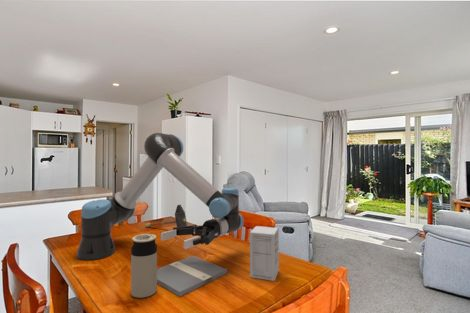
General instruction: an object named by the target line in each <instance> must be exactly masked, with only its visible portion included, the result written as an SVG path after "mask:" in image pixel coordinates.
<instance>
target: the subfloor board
mask: <svg viewBox="0 0 470 313" xmlns="http://www.w3.org/2000/svg"><path fill="white" fill-rule="evenodd" d="M226 274H228V269H227V268H225V267H223V266H220V265H217V264H215V263H213V262H210V261H207V260H205V259H203V258H200V257H198V256H196V255H195V256H194V255H192V256H189V257H186V258H182V259H181V260H178V261H175V262H172V263H170V264H167V265H164V266H161V267H157V285H159V286H161V287H162V288H164V289H166V290H168V291H169V292H171V293H172V294H174V295H176V296H178V297H183V296H185V295H186V294H189V293H191V292H193V291H194V290H196V289H198V288H200V287H202V286H204V285H207V284H209V283H210V282H212V281H215V280H217V279H218V278H221V277H222V276H225V275H226Z"/></svg>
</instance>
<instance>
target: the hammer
mask: <svg viewBox="0 0 470 313" xmlns="http://www.w3.org/2000/svg"><path fill="white" fill-rule="evenodd" d="M169 224H176V227H183V226H188V222H187V216H186V212H185V210H184V207H182V204H177V206H176V209H175V213H174V219H172V220H164V221H157V222H146V223H145V225H144V227H146V228H149V227H154V226H160V225H161V226H162V225H163V226H164V225H169Z"/></svg>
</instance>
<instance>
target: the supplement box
mask: <svg viewBox="0 0 470 313" xmlns="http://www.w3.org/2000/svg"><path fill="white" fill-rule="evenodd" d="M279 231H280V229H279V227H269V226H260V225H256V226H255V227H253V229H252V230H251V231H250V233H249V278H253V279H259V280H266V281H271V282H274V281H276V278H277V276H278V274H279V272H280V260H279V258H280V256H279V254H280V252H279V249H280V248H279V246H280V245H279V244H280V243H279V242H280V241H279V236H280V235H279Z"/></svg>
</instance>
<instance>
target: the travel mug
mask: <svg viewBox="0 0 470 313" xmlns="http://www.w3.org/2000/svg"><path fill="white" fill-rule="evenodd" d="M156 239H157V235H156V234H153V233H152V234H151V233H141V234H138V235H134V236H133V237H132V238H131V240H132V242H133V243H132V246H131V248H130V250H131V251H130V259H131V261H130V295H131V296H132V297H134V298H140V299H142V298H143V299H144V298H149V297H150V296H152V295H155V294H156V292H157V291H158V284H157V269H158V244H157V243H156Z"/></svg>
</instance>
